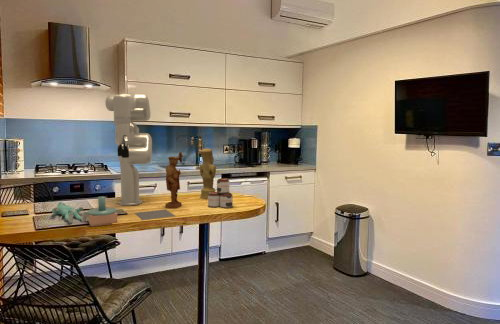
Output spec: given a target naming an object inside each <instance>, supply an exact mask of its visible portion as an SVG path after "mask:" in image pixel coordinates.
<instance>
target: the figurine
mask: <svg viewBox="0 0 500 324" xmlns="http://www.w3.org/2000/svg"><path fill="white" fill-rule="evenodd" d="M51 212H52V213H51V214H53V215H56V214H57V215H61V216H59V218H58V220H59V219H61V220H62V218H64V220H66V221H68V223H69V224H73V223H74V217H75V218H76V220H77V221H78V220H79V221H81V222H82V223H85V222H84V221H86V222H87V219H88V217H87V216H88V213H87V211H84V207H83V206H82V207H81V206H79V208H73V207H72V206H70V205H68V204H66V203H64V202H61V201H60V202H58V203H57V206H55V207H54V208H52V209H51ZM81 212H83V213H82V216H81V215H80V214H79V213H81Z"/></svg>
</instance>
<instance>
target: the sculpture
mask: <svg viewBox="0 0 500 324" xmlns="http://www.w3.org/2000/svg"><path fill="white" fill-rule="evenodd" d="M183 157H184V155H183V153H182V152H181V151H179V152H178V156H168V157H167V159H168V160H169V161H168V162H169V164H167V166H166V168H165V172H166V175H165V183H166V184H165V185H166V190H167V191H169V192H170V195H171V196H170V199H171V200H170V201H169V202H167V203H165V207H164V208H165V209H173V210H175V209H179V208H181V207H182V206H183V205H182V202H180V201H179V200H178V191H180V190H181V185H180V184H181V182H180V176H181V175H182V173H181V168H179V169H177V165H178V164H179V163H180V164H181V163H183Z"/></svg>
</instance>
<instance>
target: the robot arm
mask: <svg viewBox="0 0 500 324" xmlns="http://www.w3.org/2000/svg"><path fill="white" fill-rule="evenodd" d="M104 102H105V107H106V109H107V111H110V112H113V125H115V133H114V134H115V135H114V138H115V139H114V141H115V142H114V144H115V145H117V156H118V160H119V167H120V169H119V170H120V194H121V195H120V198H121V199H120V200H118V203H117V204H118V205H119V206H123V207H124V206H125V207H126V206H127V207H129V206H138V205H141V204H142V203H143V200H142V199H140V176H139V175H140V174H139V170H138V168H137V167H136V166H135V165H145V164H147V165H148V164H150V163H151V161H152V157H153V156H152V153H153V139H152V136H151V134H149V133H146V132H140V128H139V127H138V126H137V124H136V123H135V122H147V121H149V120H151V119H150V118H151V107H150V99H149V98H148V95H147V94H145V93H125V94H124V93H121V94H112V95H107V97H106V98H105V101H104Z"/></svg>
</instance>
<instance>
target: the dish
mask: <svg viewBox="0 0 500 324" xmlns="http://www.w3.org/2000/svg"><path fill="white" fill-rule="evenodd" d="M86 212H87V213H88V210H87V211H86ZM87 222H89V223H88V225H89V226H90V227H100V226H106V225H108V226H109V225H113V224H116V223H118V212H116V213H113V214H109V215H101V216H94V215H89V214H88V216H87Z"/></svg>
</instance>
